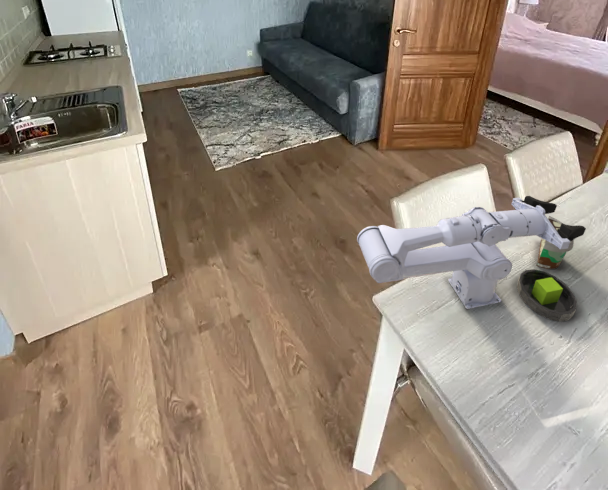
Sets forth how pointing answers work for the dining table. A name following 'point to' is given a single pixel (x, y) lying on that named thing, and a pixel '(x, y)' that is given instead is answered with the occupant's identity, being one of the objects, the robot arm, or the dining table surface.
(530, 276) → the bowl
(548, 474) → the dining table surface
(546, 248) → the food container
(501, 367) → the dining table surface
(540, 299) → the green block
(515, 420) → the dining table surface
